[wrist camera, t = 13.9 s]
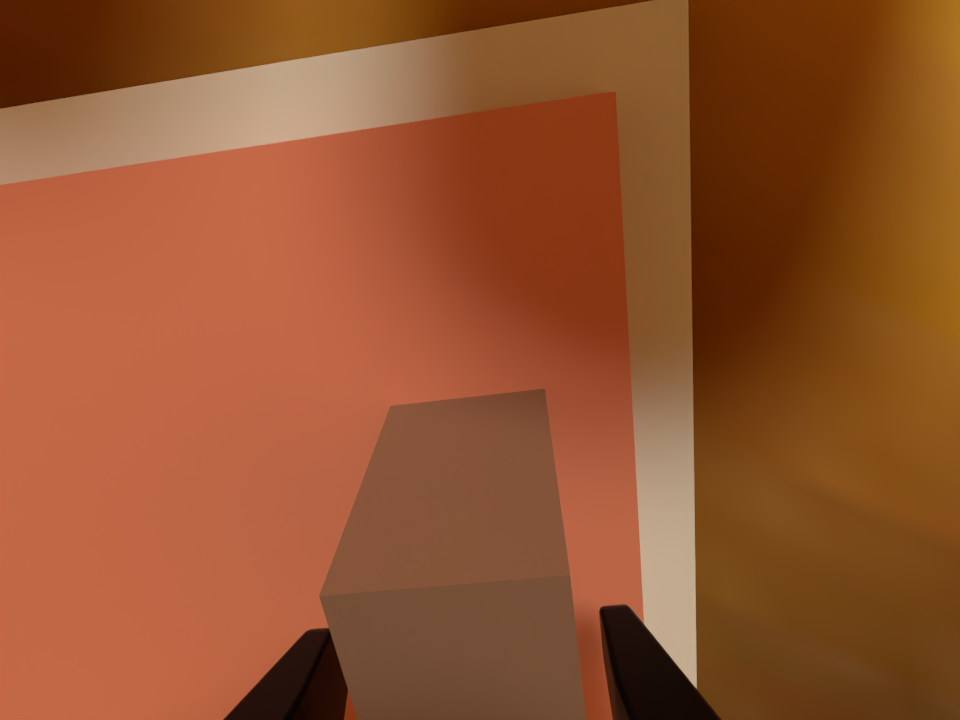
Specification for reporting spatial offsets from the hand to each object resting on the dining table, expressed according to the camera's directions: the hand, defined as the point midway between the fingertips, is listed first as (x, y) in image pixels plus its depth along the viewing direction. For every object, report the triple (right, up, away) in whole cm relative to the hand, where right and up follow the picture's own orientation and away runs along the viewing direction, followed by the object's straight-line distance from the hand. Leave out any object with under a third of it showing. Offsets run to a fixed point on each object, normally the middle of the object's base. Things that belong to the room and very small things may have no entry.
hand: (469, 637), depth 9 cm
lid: (-4, +1, +3) cm, 5 cm away
